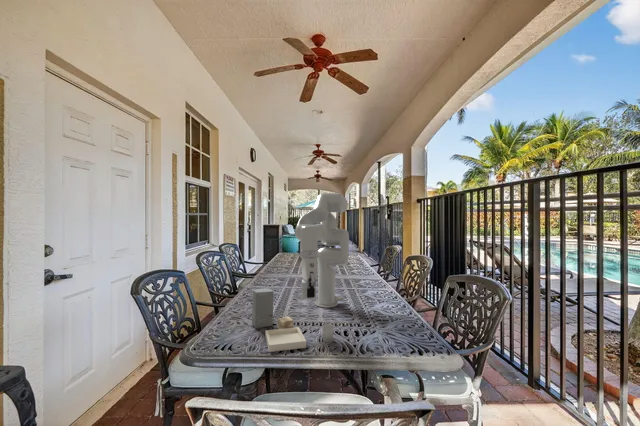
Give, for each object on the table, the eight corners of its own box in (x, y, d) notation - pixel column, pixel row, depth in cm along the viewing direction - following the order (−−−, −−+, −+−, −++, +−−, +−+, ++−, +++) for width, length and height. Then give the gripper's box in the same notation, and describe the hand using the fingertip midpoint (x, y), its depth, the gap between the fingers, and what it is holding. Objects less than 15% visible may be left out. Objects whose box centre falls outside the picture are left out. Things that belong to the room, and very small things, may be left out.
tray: (298, 332, 126) (298, 327, 126) (306, 347, 112) (306, 341, 112) (265, 336, 122) (265, 330, 122) (269, 352, 108) (269, 345, 108)
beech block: (288, 327, 132) (288, 316, 132) (293, 331, 127) (293, 320, 127) (277, 329, 129) (277, 318, 129) (282, 333, 125) (282, 322, 125)
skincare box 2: (301, 295, 132) (301, 279, 132) (315, 295, 132) (315, 279, 132) (301, 299, 126) (301, 282, 125) (316, 299, 126) (316, 282, 126)
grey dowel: (331, 337, 121) (331, 323, 121) (334, 341, 118) (334, 327, 117) (321, 338, 120) (322, 323, 120) (324, 342, 117) (324, 327, 116)
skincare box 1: (255, 329, 129) (255, 293, 129) (251, 323, 136) (251, 289, 136) (273, 325, 133) (274, 290, 133) (269, 320, 140) (269, 287, 139)
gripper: (323, 256, 121) (322, 300, 122) (312, 251, 138) (311, 289, 138) (305, 257, 119) (304, 301, 119) (296, 251, 136) (296, 290, 136)
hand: (308, 294), depth 129 cm, fingers closed on skincare box 2, 6 cm apart
